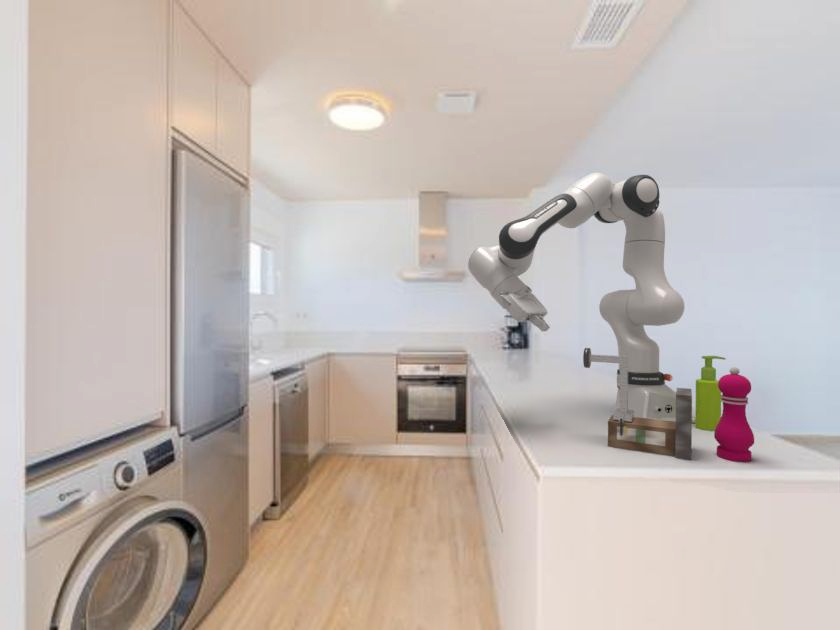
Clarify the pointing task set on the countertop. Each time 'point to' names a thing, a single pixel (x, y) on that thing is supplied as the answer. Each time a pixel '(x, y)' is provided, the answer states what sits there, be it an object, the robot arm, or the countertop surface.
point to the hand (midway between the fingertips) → (546, 329)
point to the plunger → (623, 412)
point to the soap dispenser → (708, 397)
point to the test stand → (658, 431)
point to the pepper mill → (734, 418)
